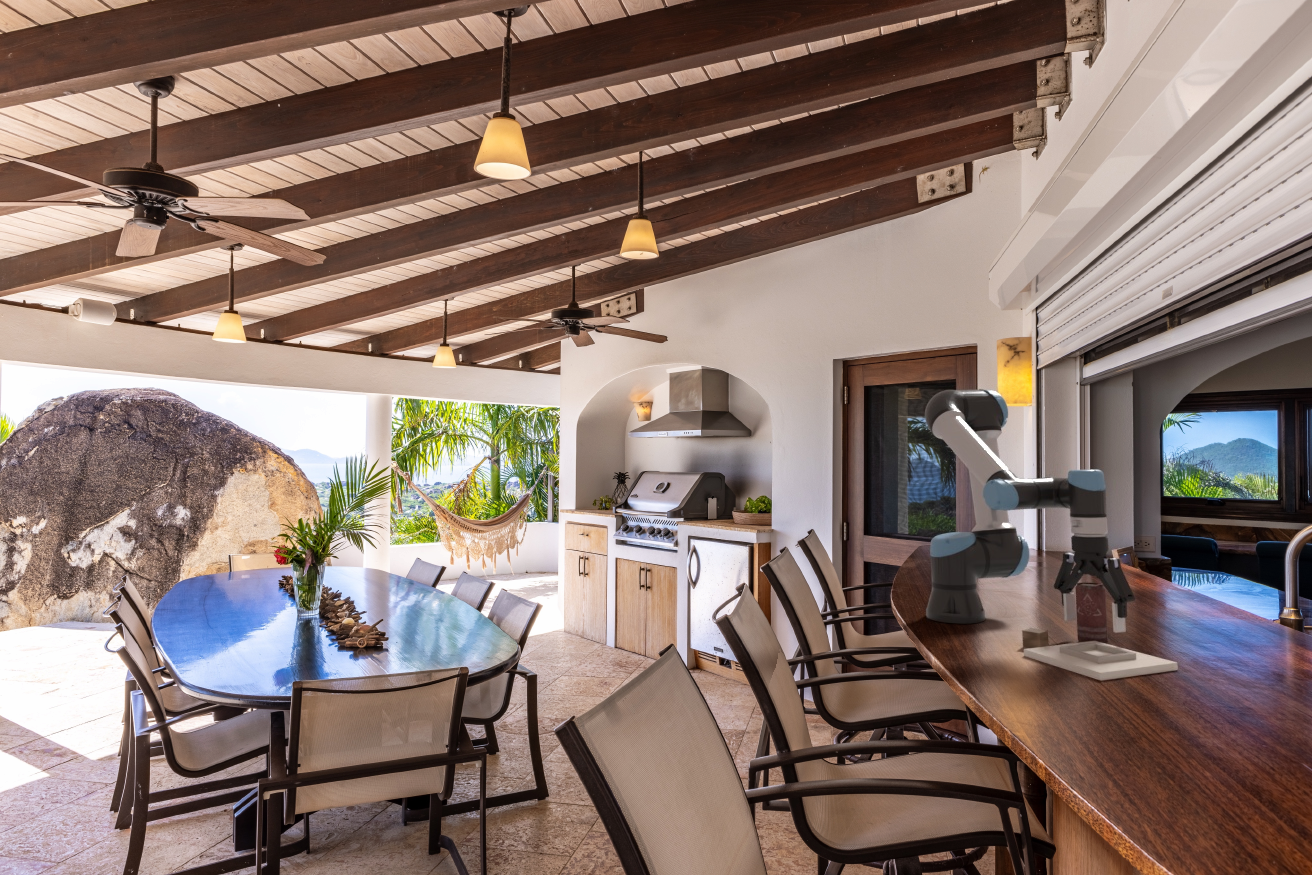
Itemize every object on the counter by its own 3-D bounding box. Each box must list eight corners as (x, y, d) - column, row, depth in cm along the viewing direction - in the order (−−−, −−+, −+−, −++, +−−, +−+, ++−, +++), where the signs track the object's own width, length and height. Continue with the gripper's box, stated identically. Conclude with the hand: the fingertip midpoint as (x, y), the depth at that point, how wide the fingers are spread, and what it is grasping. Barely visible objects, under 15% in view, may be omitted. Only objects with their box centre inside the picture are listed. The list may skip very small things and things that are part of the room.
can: (1114, 646, 171) (1111, 585, 171) (1086, 646, 171) (1084, 586, 172) (1099, 640, 177) (1097, 581, 178) (1072, 640, 177) (1070, 581, 178)
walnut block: (1022, 647, 173) (1022, 630, 173) (1031, 644, 175) (1030, 627, 175) (1040, 650, 169) (1039, 633, 170) (1048, 647, 172) (1047, 630, 172)
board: (1024, 655, 165) (1023, 643, 165) (1094, 647, 171) (1094, 635, 171) (1100, 680, 146) (1100, 666, 146) (1177, 669, 152) (1177, 656, 152)
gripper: (1035, 531, 185) (1039, 617, 184) (1123, 540, 161) (1129, 638, 160) (1059, 530, 187) (1063, 614, 186) (1150, 538, 163) (1155, 635, 162)
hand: (1094, 626), depth 173 cm, fingers open, 13 cm apart
